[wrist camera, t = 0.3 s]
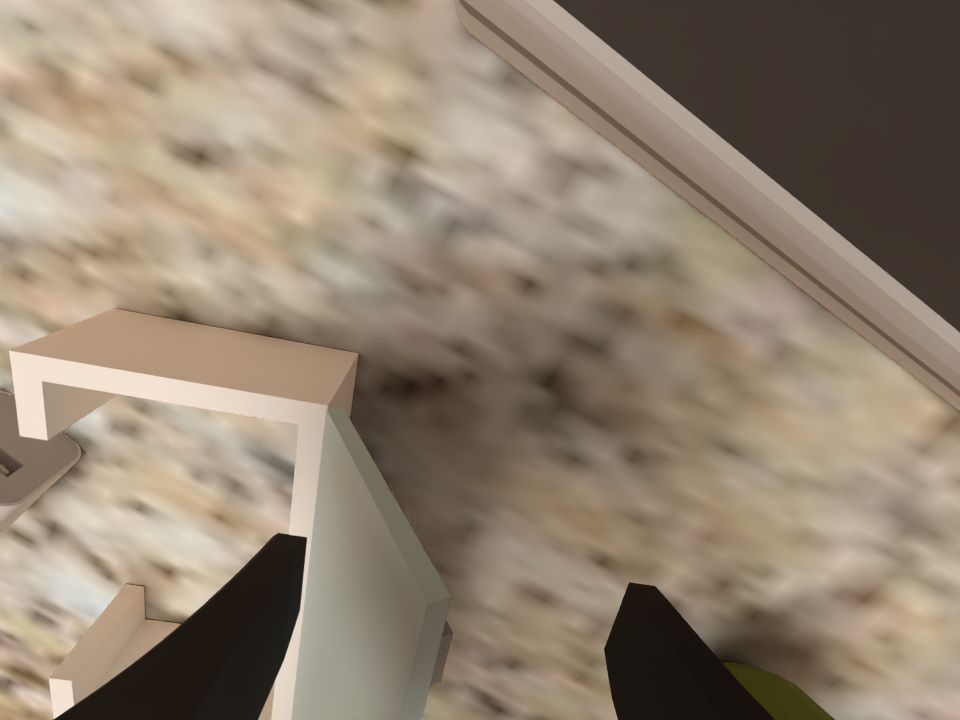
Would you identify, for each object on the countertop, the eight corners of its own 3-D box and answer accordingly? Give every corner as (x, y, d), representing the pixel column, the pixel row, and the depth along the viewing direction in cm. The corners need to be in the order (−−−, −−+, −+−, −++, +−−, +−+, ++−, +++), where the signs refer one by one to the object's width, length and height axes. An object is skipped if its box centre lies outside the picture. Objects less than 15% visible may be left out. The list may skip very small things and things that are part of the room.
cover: (286, 759, 21) (309, 750, 21) (334, 1021, 15) (364, 1001, 15) (326, 408, 15) (356, 407, 16) (426, 603, 9) (469, 591, 10)
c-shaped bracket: (318, 653, 25) (288, 754, 21) (127, 629, 24) (54, 728, 20) (358, 353, 20) (328, 405, 15) (113, 308, 19) (9, 350, 15)
